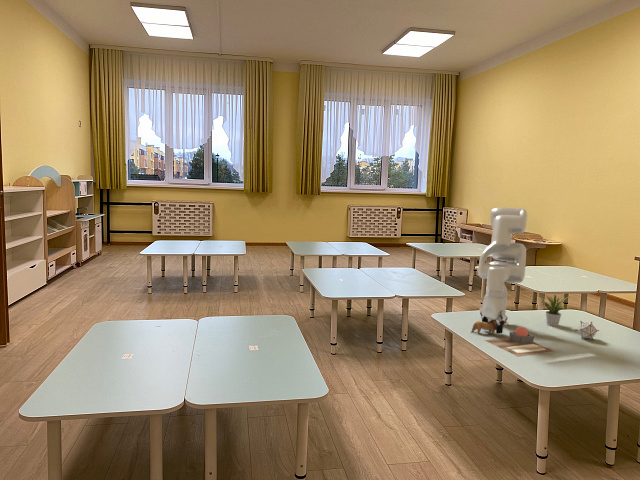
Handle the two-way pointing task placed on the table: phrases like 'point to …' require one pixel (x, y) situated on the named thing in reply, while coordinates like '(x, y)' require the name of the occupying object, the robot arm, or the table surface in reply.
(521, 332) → the pop dome
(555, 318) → the house plant
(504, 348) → the brown flat square board
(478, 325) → the lion figurine
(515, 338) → the dome housing
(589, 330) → the game die
